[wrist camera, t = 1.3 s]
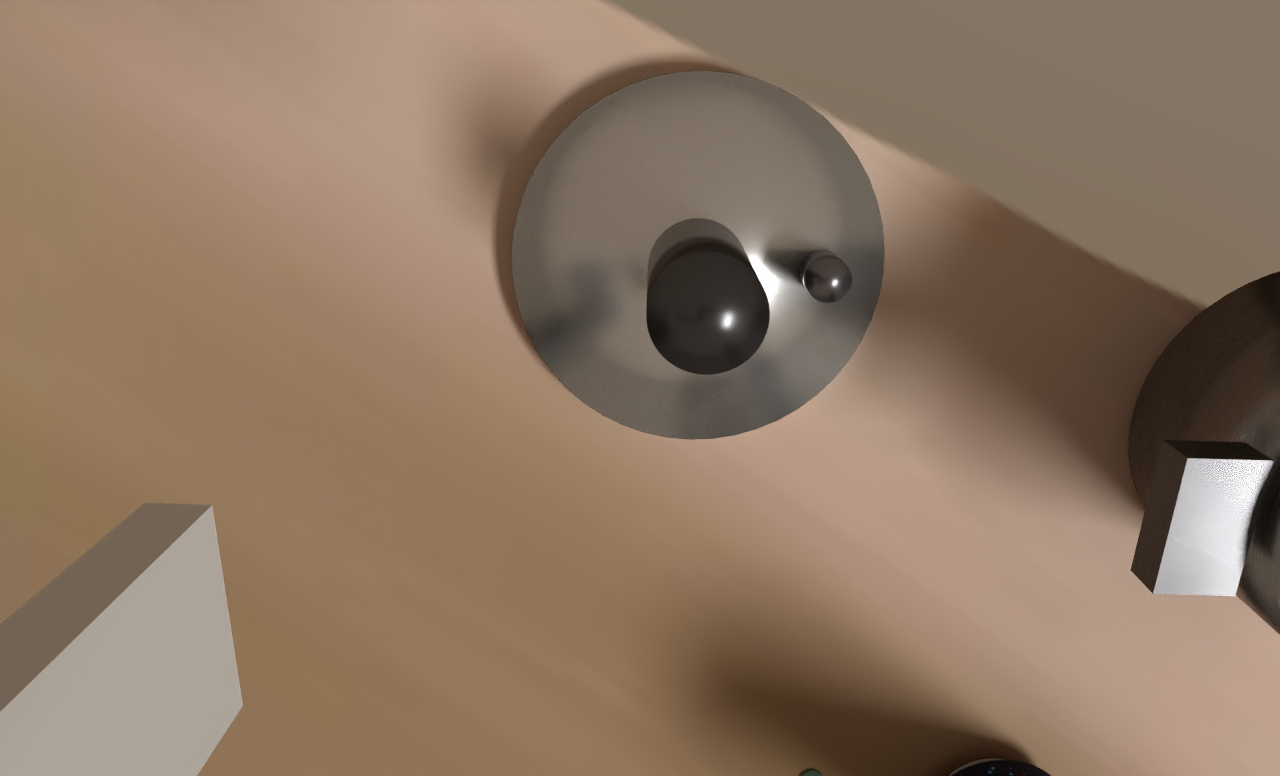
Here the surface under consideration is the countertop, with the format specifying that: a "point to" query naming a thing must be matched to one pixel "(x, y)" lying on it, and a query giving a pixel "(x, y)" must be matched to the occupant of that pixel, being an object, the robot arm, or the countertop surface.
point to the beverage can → (998, 768)
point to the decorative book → (811, 773)
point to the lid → (698, 255)
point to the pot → (1214, 455)
